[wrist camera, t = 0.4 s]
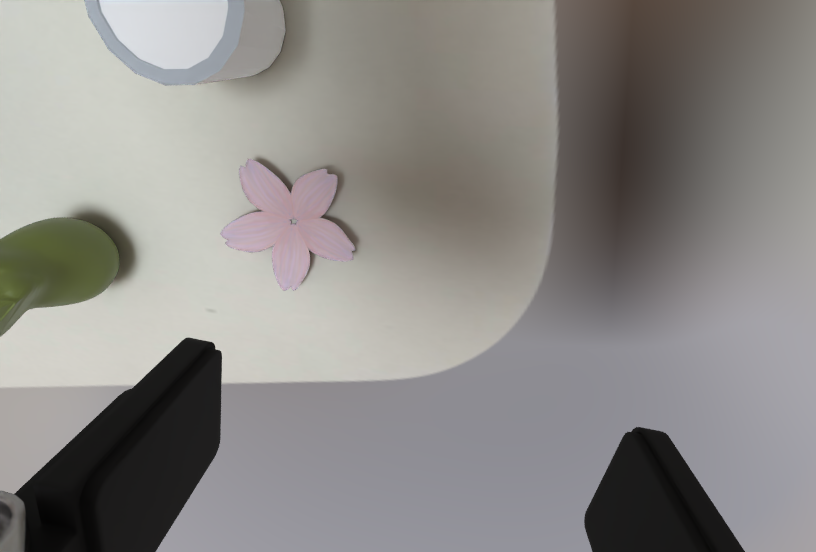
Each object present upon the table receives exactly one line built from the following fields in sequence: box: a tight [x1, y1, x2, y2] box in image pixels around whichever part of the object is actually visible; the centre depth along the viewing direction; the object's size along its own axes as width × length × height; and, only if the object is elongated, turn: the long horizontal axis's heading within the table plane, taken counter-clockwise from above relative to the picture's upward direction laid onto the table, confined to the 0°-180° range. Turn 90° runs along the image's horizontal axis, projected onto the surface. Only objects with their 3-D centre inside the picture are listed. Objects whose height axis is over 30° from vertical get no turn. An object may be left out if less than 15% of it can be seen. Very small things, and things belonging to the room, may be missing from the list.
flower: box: [220, 159, 355, 291], centre depth 27 cm, size 10×10×2 cm
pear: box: [0, 218, 120, 337], centre depth 25 cm, size 6×5×10 cm
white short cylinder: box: [84, 0, 286, 85], centre depth 21 cm, size 7×7×7 cm
